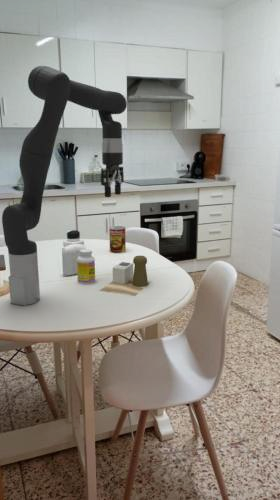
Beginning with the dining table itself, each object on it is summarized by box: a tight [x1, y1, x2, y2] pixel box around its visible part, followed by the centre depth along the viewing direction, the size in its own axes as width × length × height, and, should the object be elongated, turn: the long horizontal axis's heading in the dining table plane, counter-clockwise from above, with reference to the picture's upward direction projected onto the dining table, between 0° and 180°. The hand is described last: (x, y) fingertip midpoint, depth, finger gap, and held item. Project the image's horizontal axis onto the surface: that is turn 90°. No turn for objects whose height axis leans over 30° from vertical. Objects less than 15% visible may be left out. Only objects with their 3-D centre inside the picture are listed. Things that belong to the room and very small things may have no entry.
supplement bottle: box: [77, 248, 96, 285], centre depth 157 cm, size 7×7×13 cm
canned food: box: [109, 225, 127, 254], centre depth 202 cm, size 8×8×12 cm
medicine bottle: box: [62, 229, 85, 249], centre depth 194 cm, size 7×7×12 cm
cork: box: [132, 255, 149, 288], centre depth 153 cm, size 6×6×11 cm
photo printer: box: [61, 244, 87, 277], centre depth 167 cm, size 10×4×12 cm, turn 123°
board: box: [99, 279, 153, 297], centre depth 153 cm, size 17×14×1 cm
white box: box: [112, 261, 134, 284], centre depth 158 cm, size 8×5×6 cm, turn 157°
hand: (113, 195), depth 154 cm, fingers open, 8 cm apart
